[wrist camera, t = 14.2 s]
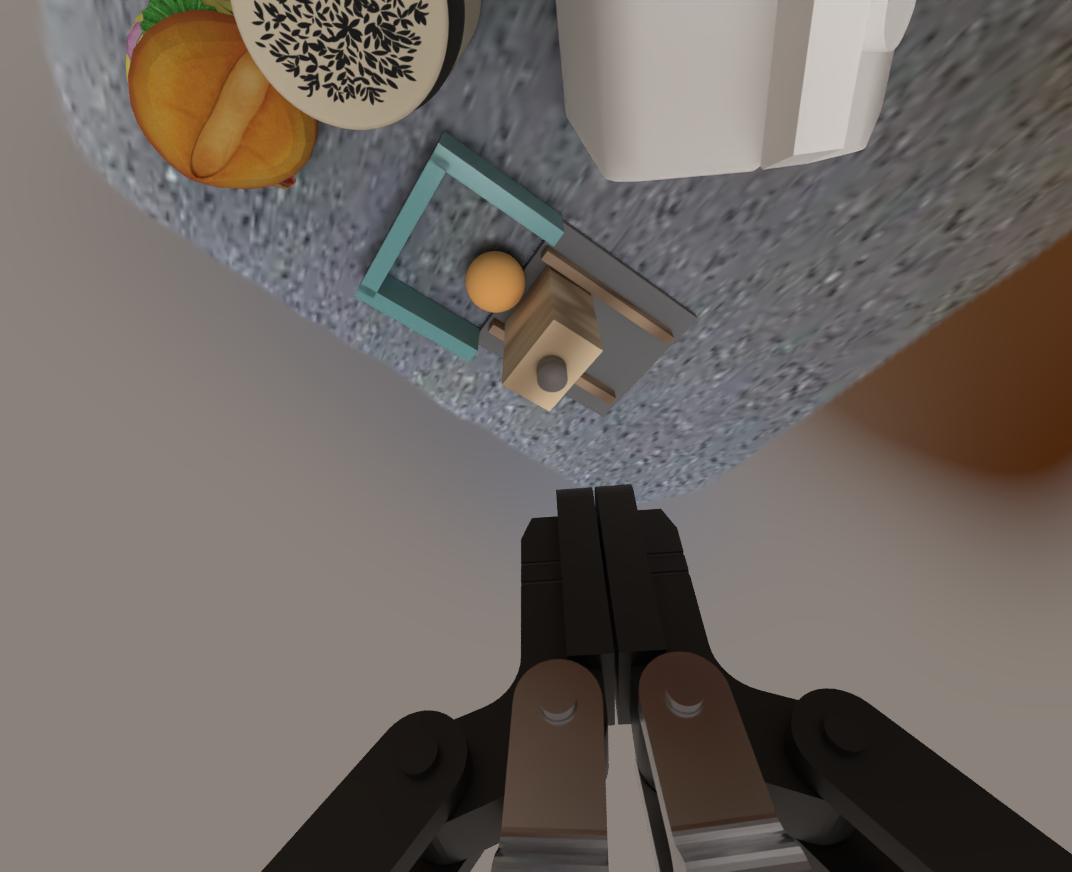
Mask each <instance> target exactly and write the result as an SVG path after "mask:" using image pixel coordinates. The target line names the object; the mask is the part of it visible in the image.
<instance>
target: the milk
mask: <svg viewBox="0 0 1072 872" xmlns="http://www.w3.org/2000/svg"><path fill="white" fill-rule="evenodd" d="M915 3H916V0H556V11H557V23H558V34H559V46H560V57H561V69H562V81H563V92H564V104H565V115H566V117H567V118H568V120H569V121H570V123H571V125H572V126H573V128H574V130H575V131H576V133H577V135H578V136H579V138H580V139H581V141H582V143H583V144H584V146H585V148H586V149H587V151H588V153H589V154H590V156H591V157H592V159H593V161H594V162H595V164H596V166H597V167H598V169H599V171H600V172H601V174H602V175H603V177H605V178H606V179H607V180H611V181H616V182H634V181H648V180H660V179H671V178H682V177H693V176H705V175H716V174H727V173H739V172H750V171H754V170H755V169H757V168H758V167H760V166H761V168H762V170H763V169H770V168H778V167H785V166H792V165H799V164H808V163H812V162H816V161H820V160H824V159H828V158H832V157H836V156H840V155H845V154H849V153H853V152H857V151H860V150H863V149H864V148H865V147H866V145H867V143H868V141H869V138H870V136H871V133H872V131H873V129H874V126H875V124H876V121H877V119H878V117H879V114H880V112H881V110H882V105H883V100H884V96H885V91H886V86H887V82H888V77H889V72H890V68H891V63H892V58H893V54H894V49H895V48H896V47H897V46H898V44H899V43H900V41H901V39H902V38H903V36H904V33H905V31H906V29H907V26H908V24H909V22H910V19H911V16H912V13H913V10H914V7H915Z"/></svg>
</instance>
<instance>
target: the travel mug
mask: <svg viewBox="0 0 1072 872" xmlns="http://www.w3.org/2000/svg"><path fill="white" fill-rule="evenodd" d="M230 1H231V5H232V9H233V14H234V17H235V20H236V23H237V27H238V29H239V32H240V34H241V37H242V39H243V41H244V43H245V45H246V47H247V50H248V51H249V53H250V55H251V57H252V58H253V60H254V62H255V63H256V65H257V66H258V68H259V69H260V71H261V72H262V74H263V75H264V76H265V77H266V79H267V80H268V81H269V82H270V84H271V85H272V86H273V87H274V88H275V89H276V90H277V91H278V92H279V93H280V94H281V95H282V96H283V97H284V98H285V99H286V100H288V101H289V102H290V103H291V104H293V105H294V106H295V107H296V108H298V109H299V110H301V111H302V112H304V113H305V114H307V115H309V116H311V117H313V118H314V119H317V120H319V121H321V122H323V123H326V124H329V125H332V126H335V127H339V128H344V129H351V130H369V129H376V128H381V127H384V126H387V125H390V124H393V123H395V122H397V121H399V120H401V119H402V118H404V117H406V116H407V115H408V114H410V113H411V112H413V111H414V110H416V109H418V108H419V107H421V106H422V105H424V104H425V103H426V102H427V101H429V100H430V99H431V98H432V97H433V96H434V95H435V94H436V93H437V91H438V90H439V89H440V88H441V86H442V85H443V83H444V82H445V80H446V79H447V77H448V76H449V74H450V72H451V71H452V69H453V68H454V66H455V65H456V63H457V61H458V60H459V58H460V57H461V55H462V54H463V52H464V50H465V49H466V47H467V46H468V44H469V42H470V41H471V39H472V37H473V35H474V33H475V30H476V27H477V24H478V21H479V16H480V11H481V0H230Z"/></svg>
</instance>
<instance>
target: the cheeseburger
mask: <svg viewBox="0 0 1072 872" xmlns="http://www.w3.org/2000/svg"><path fill="white" fill-rule="evenodd" d="M126 74H127V81H128V85H129V94H130V103H131V107H132V110H133V112H134V115H135V117H136V120H137V123H138V125H139V126H140V128H141V130H142V131H143V133H144V135H145V137H146V138H147V140H148V141H149V142H150V143H151V145H152V146H153V147H154V148H155V149H156V150H157V152H158V153H159V154H160V155H161V156H162V157H163V158H164V160H166V161H167V162H168V163H169V164H170V165H172V166H173V167H174V168H175V169H177V170H178V171H179V172H180V173H182V174H183V175H184V176H186V177H187V178H189V179H191V180H193V181H196V182H200V183H203V184H206V185H210V186H215V187H221V188H238V189H252V188H264V187H268V186H278V187H281V188H284V189H289V188H290V187H292V186H293V185H294V184H295V183H296V179H295V177H294V175H296V174H297V172H298V171H299V170H300V169H301V168H302V167H303V166H304V165H305V163H306V162H307V161H308V160H309V159H310V157H311V154H312V151H313V148H314V145H315V142H316V139H317V131H318V120H317V119H314V118H313V117H311V116H309V115H307V114H305V113H304V112H302V111H301V110H299V109H298V108H296V107H295V106H294V105H293V104H291V103H290V102H289V101H288V100H286V99H285V98H284V97H283V96H282V95H281V94H280V93H279V92H278V91H277V90H276V89H275V88H274V87H273V86H272V85H271V84H270V82H269V81H268V80H267V79H266V77H265V76H264V75H263V74H262V72H261V71H260V69H259V68H258V66H257V65H256V63H255V62H254V60H253V58H252V57H251V55H250V53H249V51H248V50H247V47H246V45H245V43H244V41H243V39H242V37H241V34H240V32H239V29H238V27H237V23H236V20H235V17H234V14H233V9H232V5H231V1H228V0H150V1H149V7H148V8H146V9H144V10H143V11H142V13H141V14H140V15H138V16H137V18H136V20H135V22H134V24H133V26H132V28H131V31H130V34H129V36H128V41H127V53H126Z"/></svg>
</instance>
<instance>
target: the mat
mask: <svg viewBox="0 0 1072 872" xmlns="http://www.w3.org/2000/svg"><path fill="white" fill-rule="evenodd" d="M562 220H563V219H562ZM563 227H564V234H563V235H562V236H561V238H560V239H559V240H558V242H557V243H556V244H555V246H552V245H551V244H549V243H548V242H546V241H545V240H543V242H542V243H541V244H540V246H539V247H538V249H537V250H536V251H535V253H534V254H533V256H532V257H531V258H530V260H529V261H528V263H527V264H526V265H525V267H524V268H523V272H524V276H525V289H524V293H523V295H522V297H521V299H520V300H519V302H520V301H521V300H522V298H523V297H524V296H525V294H526V293H527V291H528V290H529V289H530V287H531V286H532V285H533V283H534V282H535V281H536V279H537V278H538V277H539V275H540V274H541V273H542V271H543V270H544V269H545V267H546V266H547V263H545V262H544V261H542V260H541V252H542V251H543V249H544V248H545V247H546V245H548V246H550V247H551V248H553V249H554V250H555V251H557V252H558V253H560V254H561V255H563V256H564V257H566V258H567V259H568V260H570V261H571V262H573V263H574V264H576V265H577V266H579V267H580V268H582V269H583V270H584V271H586V272H587V273H589V274H590V275H592V276H593V277H595V278H596V279H597V280H599V281H600V282H602V283H603V284H605V285H606V286H608V287H609V288H611V289H612V290H613V291H615V292H616V293H618V294H619V295H621V296H622V297H624V298H625V299H626V300H628V301H629V302H631V303H632V304H634V305H635V306H637V307H638V308H639V309H641V310H642V311H644V312H645V313H647V314H648V315H650V316H651V317H653V318H654V319H655V320H657V321H658V322H660V323H661V324H663V325H664V326H666V327H667V328H668V329H670V330H671V331H672V334H673V336H674V338H673V339H672V340H671V341H670V343H669V344H668V345H667V344H665V343H664V342H662V341H661V340H659V339H658V338H656V337H655V336H653V335H652V334H650V333H649V332H647V331H646V330H644V329H643V328H641V327H640V326H638V325H637V324H636V323H634V322H633V321H631V320H630V319H628V318H627V317H625V316H624V315H622V314H621V313H619V312H618V311H616V310H615V309H613V308H612V307H610V306H609V305H607V304H606V303H604V302H603V301H601V300H600V299H599V298H597V297H596V296H594V295H593V294H591V295H592V300H593V304H594V309H595V314H596V319H597V324H598V329H599V333H600V338H601V343H602V348H603V351H602V353H601V354H600V355H599V356H598V357H597V358H596V359H595V360H594V362H593V363H592V364H591V365H590V366H589V367H588V368H587V370H586V371H585V373H586V374H588V375H590V376H591V377H593V378H595V379H596V380H598V381H600V382H601V383H603V384H604V385H606V386H608V387H609V388H611V389H613V390H614V391H615V395H616V399H615V400H614V401H613V402H612V403H611V404H608V403H607V402H605V401H603V400H602V399H600V398H598V397H596V396H595V395H593V394H591V393H590V392H588V391H586V390H585V389H583V388H581V387H580V386H578V385H576V384H575V383H574V384H573V385H572V386H571V388H570V389H569V390H568V391H567V392H566V393H565V395H567V396H568V397H570V398H572V399H573V400H575V401H577V402H579V403H580V404H582V405H584V406H586V407H587V408H589V409H591V410H592V411H594V412H596V413H598V414H599V415H601V416H604V415H605V414H606V413H607V412H608V411H609V410H610V409H611V408H612V407H613V406H614V405H615V404H616V403H617V402H618V401H619V400H620V398H621V397H622V396H623V395H624V394H625V393H626V392H627V391H628V390H629V389H630V388H631V387H632V386H633V385H634V384H635V383H636V382H637V381H638V380H639V379H640V378H641V377H642V376H643V375H644V373H645V372H646V371H647V370H648V369H649V368H650V367H651V366H652V365H653V364H654V363H655V362H656V361H657V360H658V359H659V358H660V357H661V356H662V355H663V354H664V353H665V352H666V351H667V350H668V348H669V347H670V346H671V345H672V344H673V343H674V342H675V341H676V340H677V339H678V338H679V337H680V336H681V335H682V334H683V333H684V332H685V331H686V330H687V329H688V328H689V327H690V326H691V325H692V323H693V322H694V321H695V320H696V319H697V317H696V315H695V314H694V313H692V312H691V311H690V310H688V309H687V308H685V307H684V306H683V305H681V304H680V303H678V302H677V301H676V300H674V299H673V298H671V297H670V296H669V295H667V294H666V293H665V292H663V291H662V290H660V289H659V288H658V287H656V286H655V285H653V284H652V283H651V282H649V281H648V280H646V279H645V278H644V277H642V276H641V275H639V274H638V273H637V272H635V271H634V270H633V269H631V268H630V267H628V266H627V265H626V264H624V263H623V262H621V261H620V260H619V259H617V258H616V257H614V256H613V255H612V254H610V253H609V252H608V251H606V250H605V249H603V248H602V247H601V246H599V245H598V244H596V243H595V242H594V241H592V240H591V239H589V238H588V237H587V236H585V235H584V234H582V233H581V232H580V231H578V230H577V229H576V228H574V227H573V226H571V225H570V224H569V223H567V222H566V221H564V220H563ZM519 302H518V303H517V304H516V305H515V306H514V307H512V308H511V309H509V310H507V311H504V312H498V313H493V312H492V313H491V314H490V315H489V317H488V318H487V320H486V321H485V322H484V324H483V325H482V327H481V328H480V334H479V343H478V344H479V345H481V346H482V347H484V348H486V349H487V350H489V351H491V352H493V353H494V354H496V355H498V356H500V357H501V358H503V353H504V341H502V340H501V339H499V338H497V337H496V336H494V335H492V334H491V333H489V332H488V329H489V324H490V323H491V321H492V320H493V318H496V319H498V320H499V321H501V322H503V323H504V324H505V321H506V320H507V318H508V317H509V316H510V314H511V313H512V312H513V310H514V309H515V308H516V306H517V305H518V304H519Z"/></svg>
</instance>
